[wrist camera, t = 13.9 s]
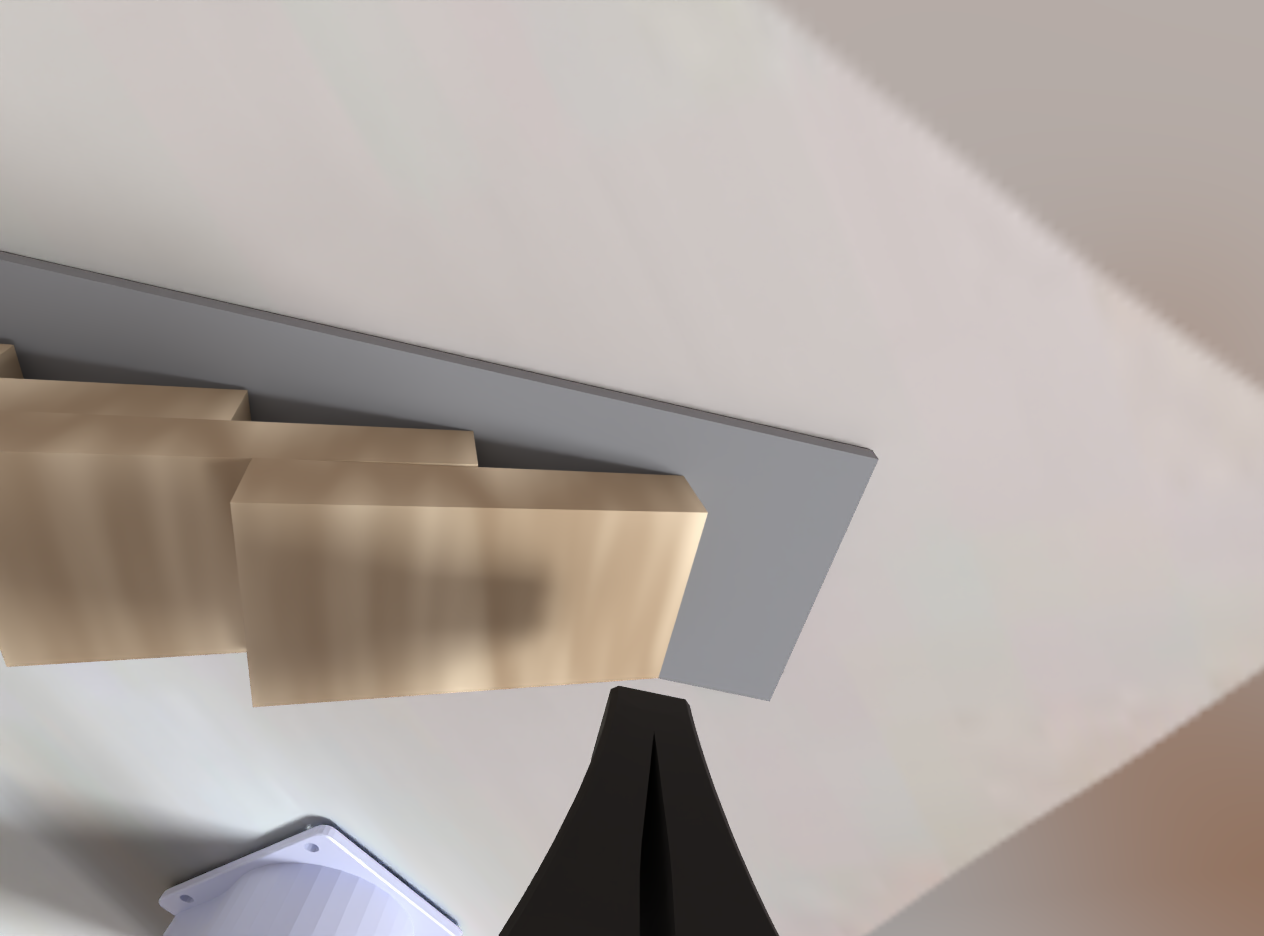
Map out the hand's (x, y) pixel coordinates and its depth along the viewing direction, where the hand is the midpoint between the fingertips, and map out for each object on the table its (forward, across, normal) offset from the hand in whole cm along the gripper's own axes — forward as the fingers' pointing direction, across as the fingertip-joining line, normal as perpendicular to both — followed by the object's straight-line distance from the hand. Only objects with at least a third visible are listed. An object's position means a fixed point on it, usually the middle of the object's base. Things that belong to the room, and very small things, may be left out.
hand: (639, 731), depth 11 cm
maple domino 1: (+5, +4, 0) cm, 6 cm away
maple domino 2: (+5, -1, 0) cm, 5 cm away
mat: (+6, +8, 0) cm, 10 cm away
